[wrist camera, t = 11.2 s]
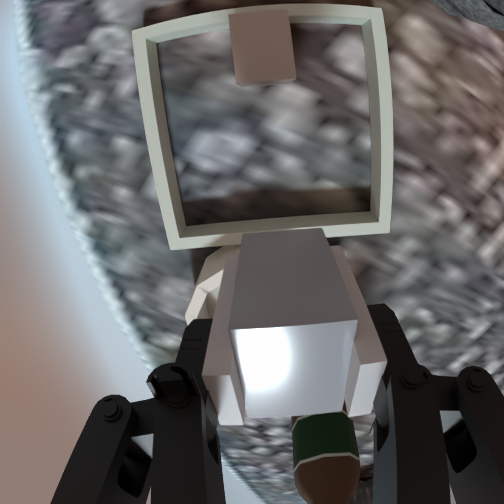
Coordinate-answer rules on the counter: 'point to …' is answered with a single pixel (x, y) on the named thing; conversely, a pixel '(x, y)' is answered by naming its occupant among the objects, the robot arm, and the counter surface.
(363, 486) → the bundt pan
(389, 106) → the square frame
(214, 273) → the bowl
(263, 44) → the taupe block
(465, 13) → the mortar and pestle
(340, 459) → the beer bottle
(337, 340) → the light grey cuboid
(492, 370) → the counter surface
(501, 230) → the counter surface
